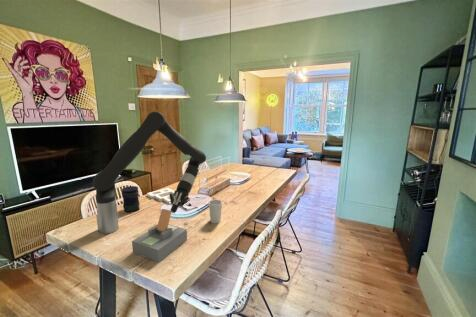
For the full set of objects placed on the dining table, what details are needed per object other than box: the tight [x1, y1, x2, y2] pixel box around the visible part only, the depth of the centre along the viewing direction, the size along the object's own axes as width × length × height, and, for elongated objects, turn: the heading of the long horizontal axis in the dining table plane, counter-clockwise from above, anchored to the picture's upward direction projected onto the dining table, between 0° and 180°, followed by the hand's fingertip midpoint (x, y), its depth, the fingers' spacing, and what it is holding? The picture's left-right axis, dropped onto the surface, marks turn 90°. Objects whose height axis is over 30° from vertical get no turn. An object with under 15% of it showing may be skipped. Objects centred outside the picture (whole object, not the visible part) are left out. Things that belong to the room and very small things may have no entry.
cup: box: [208, 199, 223, 224], centre depth 139 cm, size 8×8×12 cm
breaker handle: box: [156, 208, 172, 234], centre depth 114 cm, size 2×5×12 cm, turn 65°
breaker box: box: [131, 223, 188, 263], centre depth 113 cm, size 20×16×9 cm
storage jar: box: [121, 185, 141, 214], centre depth 153 cm, size 10×10×15 cm
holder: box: [146, 187, 176, 204], centre depth 170 cm, size 45×18×3 cm, turn 44°
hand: (172, 212), depth 119 cm, fingers closed
